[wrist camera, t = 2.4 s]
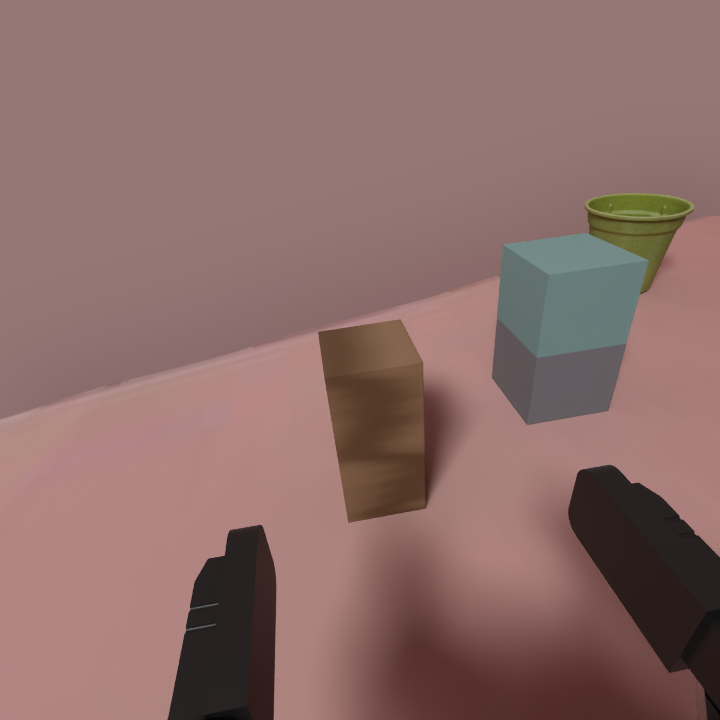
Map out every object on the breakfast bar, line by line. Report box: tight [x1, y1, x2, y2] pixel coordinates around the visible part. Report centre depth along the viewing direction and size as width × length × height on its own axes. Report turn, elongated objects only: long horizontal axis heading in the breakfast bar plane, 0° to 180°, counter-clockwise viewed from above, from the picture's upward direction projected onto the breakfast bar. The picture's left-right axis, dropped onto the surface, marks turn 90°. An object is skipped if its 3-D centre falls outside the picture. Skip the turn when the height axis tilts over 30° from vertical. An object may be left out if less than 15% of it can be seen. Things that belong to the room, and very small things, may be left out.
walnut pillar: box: [318, 320, 426, 523], centre depth 24 cm, size 4×4×10 cm
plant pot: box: [585, 193, 694, 293], centre depth 45 cm, size 9×9×9 cm
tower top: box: [497, 233, 649, 358], centre depth 28 cm, size 6×6×6 cm
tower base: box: [492, 318, 626, 425], centre depth 31 cm, size 6×6×6 cm
